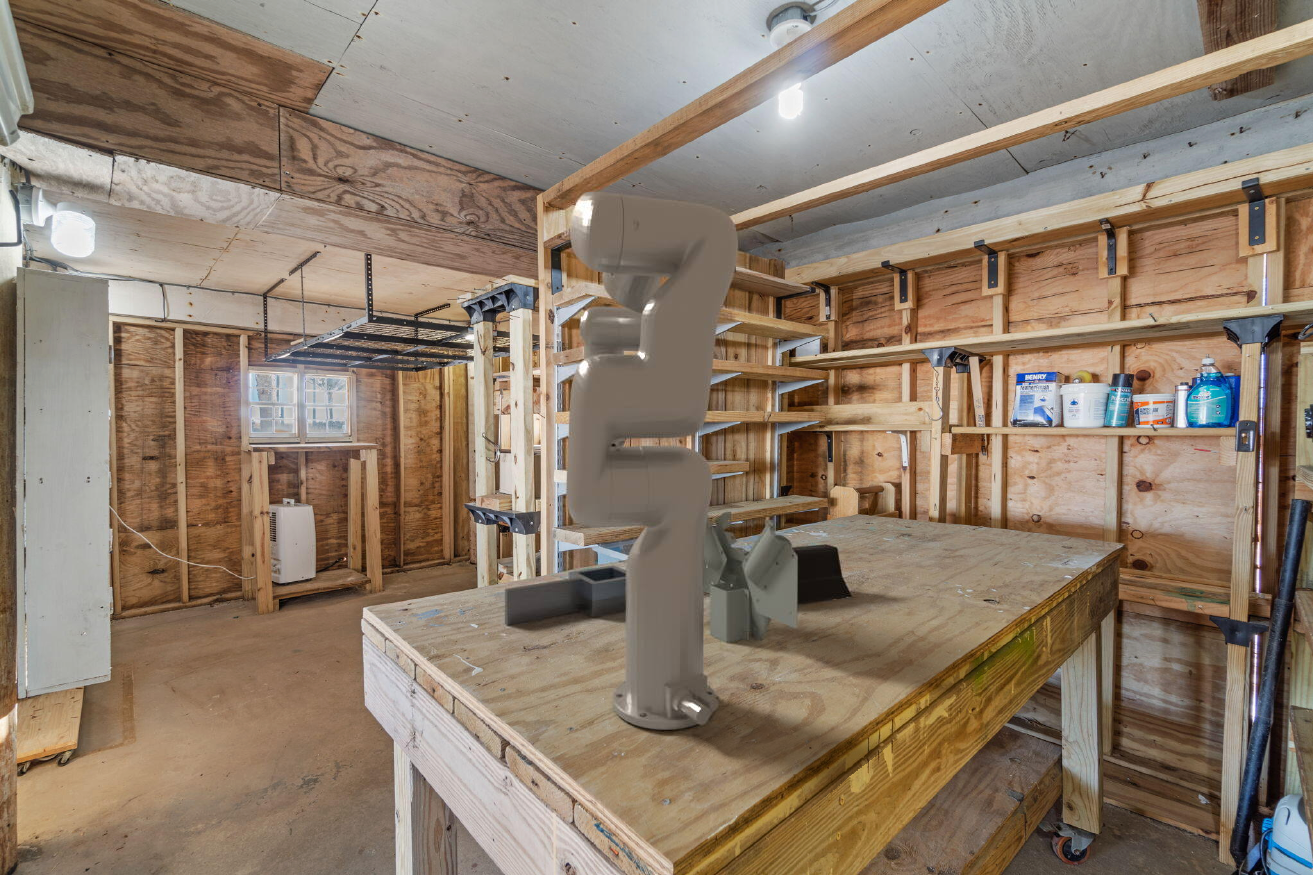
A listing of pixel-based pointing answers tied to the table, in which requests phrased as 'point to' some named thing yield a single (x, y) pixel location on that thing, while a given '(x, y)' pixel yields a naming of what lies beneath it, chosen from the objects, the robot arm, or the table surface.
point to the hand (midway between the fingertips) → (603, 477)
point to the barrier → (819, 574)
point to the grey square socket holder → (569, 596)
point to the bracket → (749, 582)
